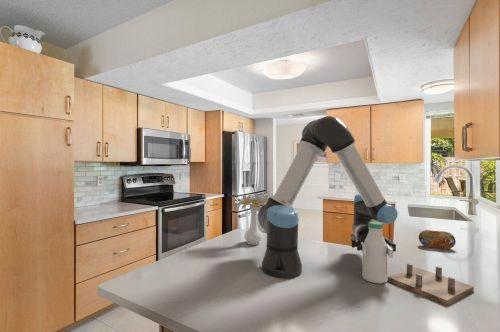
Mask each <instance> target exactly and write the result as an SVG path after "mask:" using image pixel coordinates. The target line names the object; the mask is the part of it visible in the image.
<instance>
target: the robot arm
mask: <svg viewBox="0 0 500 332" xmlns="http://www.w3.org/2000/svg"><path fill="white" fill-rule="evenodd" d="M355 144H356V140H355V138H354V136H353V135H352V133H351V131H350V129H349V128H348V127H347V125H345V123H344V122H343V121H342V120H340V119H339V118H338V117H335V116H330V115H329V116H328V115H326V116H323V117H321V118H317V119H315V120H312V121H310V122H308V123H307V124H306V125H305V126H304V127H303V129H302V131H301V138H300V140H299V145H300V148H298V151H297V152H296V155H295V156H294V158H293V160H292V162H291V164H290V165H289V168H288V170H287V171H286V173H285V175H284V177H283V179H282V181H281V182H280V185H278V188H277V190H276V191H275V193H274V194H273V195H270V196H269V197H268V198H267V199H268V201H267V202H266V204H264V205H261V206H260V210H259V211H257V222H258V223H259V226H260V227H261V228H262V229H263V230H264V231H265V232H266V250H265V252H264V255H263V259H262V261H261V271H262V272H263V273H264V274H266V275H267V276H270V277H274V278H277V279H292V278H295V277H298V276H300V275H301V274H302V272H303V265H302V261H301V258H300V254H299V251H298V248H299V247H298V244H299V243H298V241H299V239H298V238H299V219H300V218H299V212H298V210H297V208H295V207H293V204H294V202H295V201H296V199H297V196H298V195H299V193H300V191H301V189H302V187H303V185H304V184H305V182H306V180H307V177H308V176H309V174H310V172H311V170H312V168H313V167H314V165H315V163H316V161H317V159H318V157H319V156H322V155H324V154H325V151H327V148H329V149H330V151H331V153H332V154H334V155H337V158H338V160H339V162H340V163H341V165H342V166H343V168H344V170H345V172H346V174H347V175H348V177H349V178H350V180H351V182H352V184H353V185H354V187H355V189H356V190H357V193H358V194H355V195H354V197H353V198H354V201H353V222H352V227H351V228H352V231H353V233H354V234H353V233H352V234H350V242H351V248H355V247H356V251H358V252H359V251H361V253H362V256H363V255H366V246H365V245H364V241H365V239H366V237H367V235H368V232H369V228H368V227H369V226H368V223H369V222H373V221H375V222H380V223H382V224H386V225H390V224H393V223H394V222H396V221H397V219H398V214H399V212H398V210H397V208H396V207H395V206H393V205H391V204H388V202H387V200H386V199H385V197H384V195H383V194H382V192H381V190H380V188H379V186H378V184H377V183H376V181H375V179H374V177H373V175H372V174H371V172H370V170H369V168H368V167H367V165H366V163H365V162H364V160H363V158H362V156H361V153H360V152H359V151H358V148H357V147H356V145H355ZM372 220H373V221H372ZM383 237H384V240H385V242H386V245H387V257H388V258H390V259H393V258H394V257H393V256H394V252H396V251H397V244H396V243H395V242H393V241H392V240H390V239H389V238H388V237H387V236H383Z"/></svg>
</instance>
